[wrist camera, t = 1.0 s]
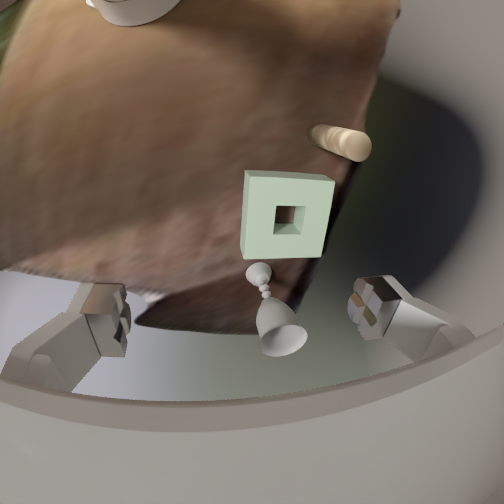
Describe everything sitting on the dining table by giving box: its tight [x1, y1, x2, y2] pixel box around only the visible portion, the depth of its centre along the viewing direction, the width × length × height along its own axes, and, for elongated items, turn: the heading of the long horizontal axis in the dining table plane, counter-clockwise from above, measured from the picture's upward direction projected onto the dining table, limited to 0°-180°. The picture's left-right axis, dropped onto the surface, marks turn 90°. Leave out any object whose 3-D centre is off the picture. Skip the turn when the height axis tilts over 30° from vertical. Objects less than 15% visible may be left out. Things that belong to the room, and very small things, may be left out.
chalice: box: [246, 262, 307, 356], centre depth 46 cm, size 7×7×18 cm
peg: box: [308, 123, 371, 162], centre depth 37 cm, size 4×4×13 cm
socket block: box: [240, 170, 335, 259], centre depth 46 cm, size 14×14×4 cm
